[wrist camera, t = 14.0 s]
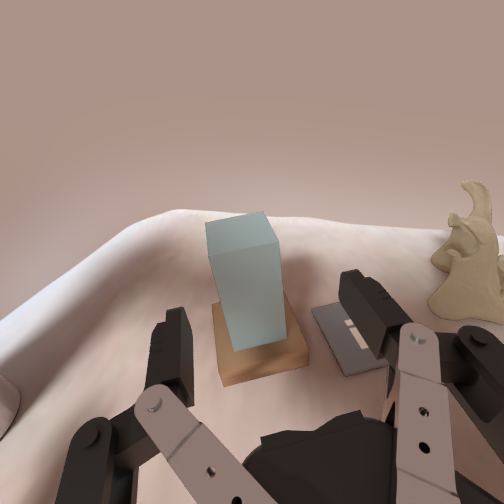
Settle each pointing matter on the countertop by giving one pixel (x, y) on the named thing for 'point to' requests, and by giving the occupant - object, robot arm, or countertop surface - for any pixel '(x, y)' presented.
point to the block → (248, 278)
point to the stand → (258, 351)
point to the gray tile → (345, 340)
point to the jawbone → (471, 265)
